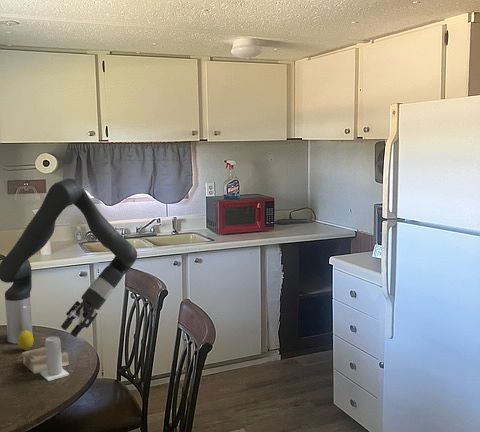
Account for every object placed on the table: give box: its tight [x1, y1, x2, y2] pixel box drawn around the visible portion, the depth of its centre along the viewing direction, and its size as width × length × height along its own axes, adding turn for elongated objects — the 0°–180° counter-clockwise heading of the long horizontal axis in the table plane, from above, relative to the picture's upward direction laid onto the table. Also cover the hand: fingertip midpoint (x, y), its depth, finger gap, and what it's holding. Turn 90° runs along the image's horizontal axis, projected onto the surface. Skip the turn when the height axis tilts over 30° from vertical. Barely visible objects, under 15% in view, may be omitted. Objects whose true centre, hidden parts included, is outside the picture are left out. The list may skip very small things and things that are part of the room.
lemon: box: [17, 330, 34, 351], centre depth 204 cm, size 6×6×8 cm
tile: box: [40, 368, 70, 382], centre depth 183 cm, size 7×7×1 cm
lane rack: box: [21, 346, 70, 375], centre depth 192 cm, size 12×12×4 cm
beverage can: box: [44, 335, 64, 375], centre depth 182 cm, size 5×5×12 cm
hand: (67, 332), depth 184 cm, fingers open, 8 cm apart
